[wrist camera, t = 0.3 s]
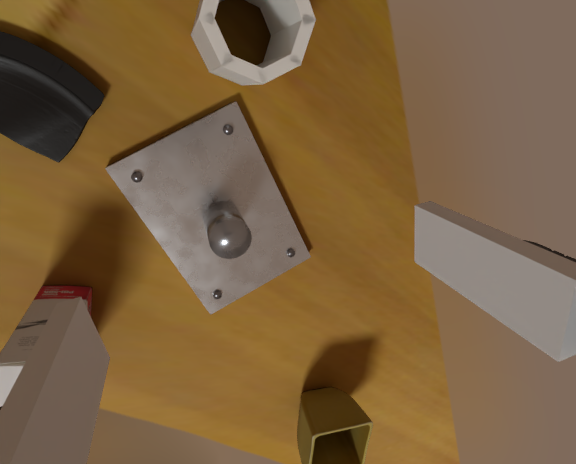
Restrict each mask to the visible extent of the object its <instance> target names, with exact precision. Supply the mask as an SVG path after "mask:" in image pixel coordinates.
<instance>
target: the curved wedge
mask: <svg viewBox="0 0 576 464" xmlns="http://www.w3.org/2000/svg"><path fill="white" fill-rule="evenodd" d="M103 97H104V94H103V93H102V92H101V91H100V90H99V89H98V88H96V87H95V86H94V85H93V84H92V83H91V82H90V81H88V80H87V79H86V78H85V77H84V76H83V75H81V74H80V73H79V72H77V71H76V70H75V69H73V68H72V67H71V66H69V65H68V64H66V63H65V62H63V61H62V60H60V59H59V58H57V57H56V56H54V55H52V54H51V53H49V52H47V51H45V50H43V49H41V48H40V47H38V46H36V45H34V44H32V43H29V42H27V41H25V40H23V39H20V38H18V37H15V36H13V35H10V34H7V33H4V32H1V31H0V133H1V134H3V135H4V136H6V137H8V138H10V139H11V140H13V141H15V142H17V143H18V144H20V145H22V146H24V147H26V148H29V149H31V150H33V151H35V152H37V153H39V154H42V155H44V156H46V157H48V158H50V159H52V160H54V161H56V162H60V161H61V160H62V159H63V158H64V157H65V156H66V155H67V154H68V153H69V152H70V150H71V149H72V148H73V146H74V145H75V144H76V142H77V141H78V139H79V137H80V135H81V133H82V131H83V129H84V127H85V125H86V123H87V121H88V119H89V118H90V117H91V116H92V115H93V114H94V113H95V112H96V110H97V109H98V108H99V107H100V106H101V104H102V101H103Z"/></svg>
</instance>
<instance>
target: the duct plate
mask: <svg viewBox="0 0 576 464" xmlns="http://www.w3.org/2000/svg"><path fill="white" fill-rule="evenodd" d="M105 169H106V170H107V172H108V173H109V175H110V176H111V177H112V179H113V180H114V181H115V183H116V184H117V186H118V187H119V188H120V190H121V191H122V193H123V194H124V195H125V197H126V198H127V199H128V201H129V202H130V204H131V205H132V206H133V208H134V209H135V211H136V212H137V213H138V215H139V216H140V217H141V219H142V220H143V222H144V223H145V224H146V226H147V227H148V229H149V230H150V231H151V233H152V234H153V235H154V237H155V238H156V240H157V241H158V242H159V244H160V245H161V247H162V248H163V249H164V251H165V252H166V253H167V255H168V256H169V258H170V259H171V260H172V262H173V263H174V265H175V266H176V267H177V269H178V270H179V271H180V273H181V274H182V276H183V277H184V278H185V280H186V281H187V283H188V284H189V285H190V287H191V288H192V289H193V291H194V292H195V294H196V295H197V296H198V298H199V299H200V301H201V302H202V303H203V305H204V306H205V307H206V309H207V310H208V312H209V313H210V314H213V313H214V312H216V311H218V310H220V309H221V308H223V307H225V306H226V305H228V304H230V303H232V302H233V301H235V300H237V299H239V298H240V297H242V296H244V295H246V294H247V293H249V292H251V291H253V290H254V289H256V288H258V287H260V286H261V285H263V284H265V283H267V282H268V281H270V280H272V279H273V278H275V277H277V276H279V275H280V274H282V273H284V272H286V271H287V270H289V269H291V268H293V267H294V266H296V265H298V264H300V263H301V262H303V261H305V260H307V259H308V258H310V257H311V256H310V254H309V252H308V250H307V248H306V246H305V244H304V242H303V239H302V237H301V235H300V233H299V231H298V229H297V227H296V225H295V223H294V221H293V219H292V216H291V214H290V212H289V210H288V208H287V206H286V204H285V202H284V200H283V198H282V196H281V194H280V191H279V189H278V187H277V185H276V183H275V181H274V179H273V177H272V175H271V173H270V171H269V169H268V166H267V164H266V162H265V160H264V158H263V156H262V154H261V152H260V150H259V148H258V146H257V143H256V141H255V139H254V137H253V135H252V133H251V131H250V129H249V127H248V125H247V123H246V121H245V118H244V116H243V114H242V112H241V110H240V108H239V106H238V104H237V102H236V101H234V102H232V103H230V104H228V105H226V106H224V107H222V108H220V109H218V110H216V111H214V112H212V113H210V114H208V115H206V116H204V117H202V118H200V119H198V120H196V121H194V122H192V123H191V124H189V125H187V126H185V127H183V128H181V129H179V130H177V131H175V132H173V133H171V134H169V135H167V136H165V137H163V138H161V139H159V140H157V141H155V142H153V143H151V144H149V145H147V146H146V147H144V148H142V149H140V150H138V151H136V152H134V153H132V154H130V155H128V156H126V157H124V158H122V159H120V160H118V161H116V162H114V163H112V164H110V165H108V166H107V167H106V168H105Z"/></svg>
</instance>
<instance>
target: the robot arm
mask: <svg viewBox="0 0 576 464" xmlns="http://www.w3.org/2000/svg"><path fill="white" fill-rule="evenodd" d="M415 262H416V263H417V264H418V265H420V266H421V267H423V268H424V269H426V270H427V271H428V272H430V273H431V274H433V275H435V276H436V277H437V278H439V279H440V280H441V281H443V282H444V283H446V284H447V285H449V286H450V287H451V288H453V289H454V290H456V291H457V292H459V293H460V294H461V295H463V296H465V297H466V298H467V299H469V300H470V301H472V302H473V303H474V304H476V305H477V306H479V307H480V308H482V309H483V310H485V311H486V312H488V313H489V314H490V315H492V316H493V317H494V318H496V319H497V320H499V321H500V322H502V323H503V324H505V325H506V326H508V327H509V328H510V329H512V330H513V331H515V332H516V333H517V334H519V335H520V336H522V337H523V338H525V339H526V340H527V341H529V342H530V343H532V344H533V345H535V346H536V347H538V348H539V349H540V350H542V351H543V352H545V353H546V354H548V355H549V356H550V357H552V358H553V359H555V360H556V361H558V362H559V361H562V360H564V359H566V358H569V357H571V356H573V355H576V259H574V258H571V257H568V256H564V254H561V253H559V252H557V251H552V250H551V249H549V248H547V247H545V246H542V245H540V244H537V243H534V242H530V241H525V240H521V239H519V238H517V237H514V236H512V235H509V234H507V233H505V232H502V231H500V230H498V229H495V228H493V227H491V226H488V225H486V224H483V223H481V222H479V221H476V220H474V219H472V218H469V217H467V216H465V215H462V214H460V213H457V212H455V211H453V210H450V209H448V208H446V207H443V206H441V205H438V204H436V203H434V202H431V201H429V202H425V203H421V204H418V205H415ZM109 360H110V357H109V355H108V352H107V350H106V348H105V346H104V344H103V342H102V340H101V338H100V335H99V333H98V331H97V329H96V327H95V325H94V323H93V321H92V319H91V316H90V314H89V312H88V310H87V308H86V306H85V304H84V302H83V299H82V297H78V298H74V299H71V300H67V301H63V302H60V303H57V304H56V306H55V307H54V309H53V311H52V313H51V315H50V317H49V319H48V321H47V323H46V325H45V326H44V328H43V330H42V332H41V334H40V336H39V338H38V340H37V342H36V343H35V345H34V347H33V349H32V351H31V353H30V355H29V357H28V359H27V361H26V362H25V364H24V366H23V368H22V370H21V372H20V374H19V376H18V378H17V379H16V381H15V383H14V385H13V387H12V389H11V391H10V393H9V395H8V397H7V398H6V400H5V402H4V404H3V406H1V407H0V464H87V459H88V455H89V450H90V445H91V441H92V436H93V432H94V428H95V423H96V419H97V414H98V410H99V405H100V401H101V396H102V391H103V387H104V382H105V378H106V373H107V369H108V364H109Z"/></svg>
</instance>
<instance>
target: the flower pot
mask: <svg viewBox="0 0 576 464" xmlns="http://www.w3.org/2000/svg"><path fill="white" fill-rule="evenodd" d="M372 426H373V422H372V421H371V420H370V418H369V417H368V416H367V415H366V413H365V412H364V411H363V410H362V409H361V407H360V406H359V405H358V404H357V403H356V402H355V400H354V399H353V398H352V397H351V396H349V395H348V394H347V393H345V392H343V391H341V390H339V389H336V388H333V387H328V388H323V389H317V390H311V391H306V392H303V393H302V395H301V403H300V411H299V418H298V428H297V441H298V449H299V453H300V458H301V462H302V464H364V463H365V458H366V452H367V447H368V442H369V439H370V435H371V431H372Z"/></svg>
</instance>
